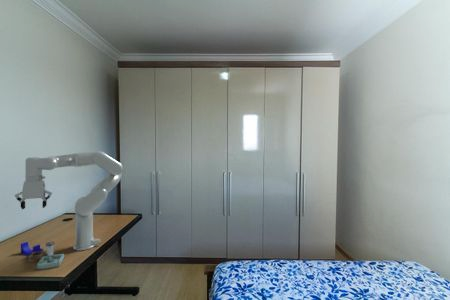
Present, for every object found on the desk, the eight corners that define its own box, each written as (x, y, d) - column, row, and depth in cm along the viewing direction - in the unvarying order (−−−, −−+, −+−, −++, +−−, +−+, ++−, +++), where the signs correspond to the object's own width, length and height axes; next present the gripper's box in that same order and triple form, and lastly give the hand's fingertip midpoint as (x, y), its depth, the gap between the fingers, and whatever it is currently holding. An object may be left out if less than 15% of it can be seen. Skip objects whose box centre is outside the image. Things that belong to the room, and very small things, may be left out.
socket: (45, 255, 138) (45, 250, 138) (41, 260, 133) (41, 255, 133) (32, 257, 136) (32, 252, 136) (28, 262, 131) (28, 256, 131)
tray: (64, 257, 136) (64, 253, 136) (59, 266, 127) (59, 262, 127) (43, 260, 132) (43, 256, 132) (36, 270, 123) (36, 265, 123)
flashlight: (55, 260, 132) (55, 241, 131) (53, 263, 128) (53, 243, 128) (47, 261, 130) (46, 242, 130) (45, 265, 127) (44, 245, 126)
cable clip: (43, 253, 141) (42, 243, 141) (34, 257, 137) (34, 247, 136) (29, 250, 145) (29, 240, 145) (20, 253, 140) (20, 243, 140)
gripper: (53, 177, 144) (53, 205, 144) (17, 178, 137) (17, 207, 137) (50, 179, 137) (50, 208, 137) (12, 180, 130) (12, 211, 130)
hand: (33, 207), depth 137 cm, fingers open, 9 cm apart
